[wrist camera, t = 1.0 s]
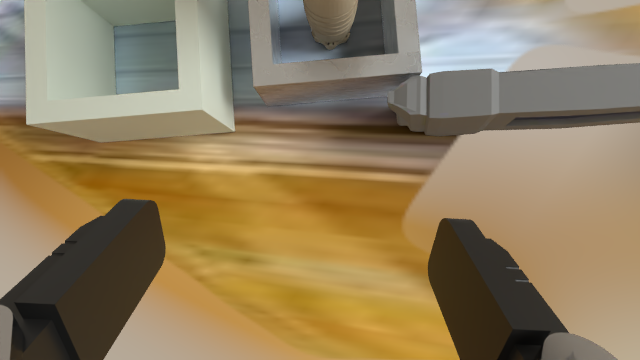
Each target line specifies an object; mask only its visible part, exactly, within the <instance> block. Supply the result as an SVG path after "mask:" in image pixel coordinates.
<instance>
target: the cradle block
mask: <svg viewBox="0 0 640 360" xmlns="http://www.w3.org/2000/svg"><path fill="white" fill-rule="evenodd" d="M24 10H25V73H26V125H31V126H35V127H39V128H43V129H47V130H51V131H55V132H59V133H64V134H68V135H72V136H76V137H80V138H84V139H88V140H92V141H96V142H101V143H103V142H115V141H128V140H140V139H152V138H165V137H177V136H189V135H202V134H214V133H226V132H235V125H234V107H233V89H232V72H231V54H230V36H229V18H228V1H227V0H24ZM166 21H176V38H177V59H178V81H179V89H176V90H164V91H153V92H141V93H130V94H118V95H116V77H115V47H114V26H124V25H135V24H145V23H156V22H166Z"/></svg>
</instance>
